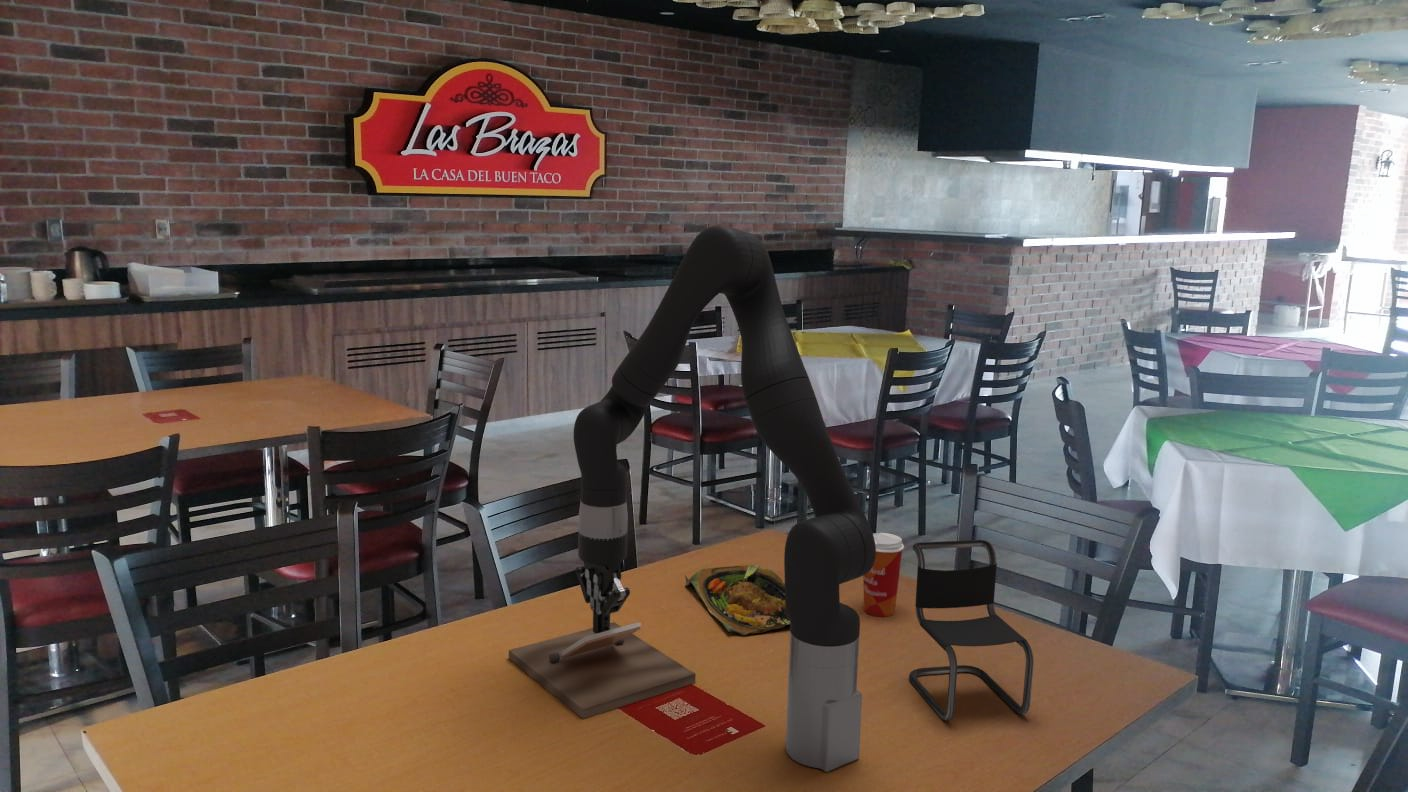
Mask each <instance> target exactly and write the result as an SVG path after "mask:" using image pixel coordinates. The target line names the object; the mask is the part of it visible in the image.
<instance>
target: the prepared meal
mask: <svg viewBox="0 0 1408 792" xmlns="http://www.w3.org/2000/svg"><path fill="white" fill-rule="evenodd" d="M684 577H685V581H686V583H685V587H689V586H691V585H693V587H694V588H695V591H696V594H697V595H698V597H699V598H700V599H701V600H702V602H703V604H704V605H705V607H706V609H707V610H708V611H709V613H710V614H711V615H713V616H714V617H715V618H716V619H717V620H718V621H719V624H720V625H721V626H722V627H723V628H725V630H726V631H727V632H729V633H737V634H739V635H742V636H754V635H758V636H759V634H763V633H765V632H769V631H772V630H779V629H782V628H785V627H786V626H787V625H788V626H790V619H789V616H788V613H787V609H786V604H785V582H784V581H783V579H782V578H781V577H779V576H778V574H777V573H775V572H774V571H773V569H766V568H762V567H761V566H759V565H757V564H746V565H744V564H743V565H733V566H719V567H710V568H709V567H707V568H702V569H700V570H698V571H696V572H695V573H694V574H693V575H692V576H691V577H690V578H688V577H687V576H686V575H684ZM757 616H765V617H769V618H767V620H766V621H765V624H764V623H763V620H764V618H763V617H760V619H761V620H762V621H759V620H758V619H757ZM778 620H779V621H778Z"/></svg>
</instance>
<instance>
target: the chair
mask: <svg viewBox="0 0 1408 792" xmlns="http://www.w3.org/2000/svg"><path fill="white" fill-rule="evenodd" d="M977 547H978V548H979V547H980V548H981V547H982V548H985V549H986V551H987V553H988V558H989V561H988V563H989V564H988V565H987V566H983V567H976V568H970V569H969V568H967V569H966V568H965V569H958V570H957V569H954V570H952V569H951V570H947V569H946V570H942V569H941V570H939V569H928V568H926V562H925V561H926V560H925V554H924V552H923V550H937V549H959V548H960V549H961V548H977ZM912 550H913V551H914V553H915V555H916V559H917V575H916V588H915V590H916V593H915V604H914V606H915V614H916V618H917V621H918V623H919V626H920V627H921V628H922V629H923V630H924V631H925V632H926V633H927V634H928V635H929V636H930V637H931V638H932V639H933V640H934V641H935V643H937V644H938V645H939V646H940V647H941V648H942V649H943V650H944V652H946V655H947V657H948V661H949V665H947V666H933V667H932V666H931V667H930V666H929V667H921V668H920V667H919V668H916V669H913V670H911V671H910V672H909V675H908V680H909V681H910V683H911V685H913V686H914V688H916V690H917V691H918V693H920V695H921V696H922V697H923V698H924V699H925V700H926V702H927V703H928V704H929V705H930V706H931V708H932V709H933V710H934V711H935V713H936V714H937V715H938V716H939V717H940V718H941V719H942V720H943V721H946V722H947V721H950V720H952V718H953V717H954V714H955V707H956V693H957V679H958V677H957V676H958V673H971V674H974V675H976V676H979V677H980V678H981V679H982V680H983V681H984V682H985V683H986V684H988V686H989V687H990V688H991V689H993V691H994V692H996V694H997V695H998V696H999V697H1000V698H1001V699H1002V700H1003V701H1004V702H1005V703H1006V704H1007V705H1008V706H1009V707H1010V708H1012V710H1013V711H1014V712H1016V713H1017V715H1025V714H1027V713H1028V711H1029V710H1030V707H1031V699H1032V687H1033V673H1034V653H1033V649H1032V647H1031V644H1030V643H1029V641H1028V640H1027V639H1026V638H1025V637H1023V636H1022V635H1021V634H1020V633H1019V632H1017V630H1015V629H1014V628H1013V627H1011V625H1010V624H1008V622H1006V621H1005V620H1004V619H1003V618H1001V617H1000V616H999V615H998V614H997V612H996V609H995V604H994V603H995V591H996V578H997V569H998V568H997V566H998V563H997V554H996V549H995V548H994V546H993V544H992V543H990V542H989V541H987V540H983V539H971V540H970V539H969V540H951V541H949V540H947V541H946V540H945V541H927V542H926V541H925V542H915V543H914V544H913V545H912ZM980 606H986V609H987V613H988V616H984V617H979V618H973V619H960V620H933V619H928V618H927V619H926V618H925V614H924V609H957V608H960V609H961V608H971V607H972V608H973V607H980ZM1011 643H1017V644H1018V646H1020V647H1021V648H1022V649H1023V652H1024V655H1025V668H1024V669H1025V670H1024V679H1023V680H1024V681H1023V692H1022V693H1023V694H1022V704H1021V706H1020V705H1019V703H1017V701H1015V700H1014V698H1013V697H1012V696H1010V695H1009V694H1008V692H1006V691H1005V690H1004V689H1003V687H1002V686H1001V685H999V684H998V683H997V682H996V681H995V680H994V679H993V678H992V677H991V676H990V675H989V673H987V672H986V671H984V670H983V669H981V668H979V667H976V666H972V665H967V664H966V665H965V664H964V665H963V664H962V665H958V659H957V655H956V652H955V649H954V648H953V646H956V647H991V646H1001V645H1005V644H1011ZM938 674H939V675H940V674H941V675H942V674H948V687H947V701H946V704H947V705H946V706H947V707H946V711H945V709H943V707H942V706H941V705H940V704H939V702H938V701H937V700H936V699H935V698H934V697H933V696H932V694H930V692H929V691H928V690H927V689H926V687H924V685H923V684H922V683H921V681H919V679H918V678H917V677H918V676H924V675H927V676H928V675H938Z"/></svg>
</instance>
